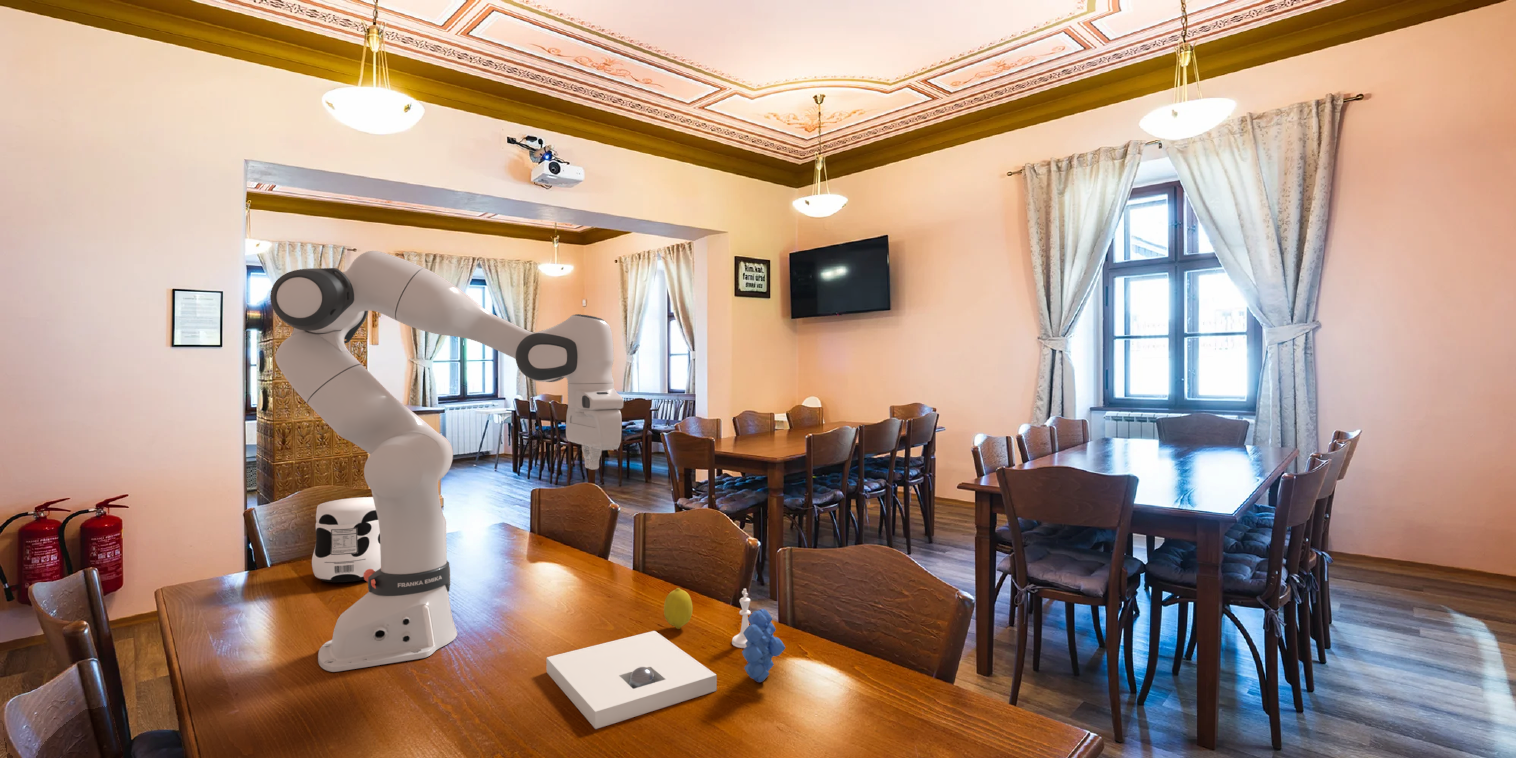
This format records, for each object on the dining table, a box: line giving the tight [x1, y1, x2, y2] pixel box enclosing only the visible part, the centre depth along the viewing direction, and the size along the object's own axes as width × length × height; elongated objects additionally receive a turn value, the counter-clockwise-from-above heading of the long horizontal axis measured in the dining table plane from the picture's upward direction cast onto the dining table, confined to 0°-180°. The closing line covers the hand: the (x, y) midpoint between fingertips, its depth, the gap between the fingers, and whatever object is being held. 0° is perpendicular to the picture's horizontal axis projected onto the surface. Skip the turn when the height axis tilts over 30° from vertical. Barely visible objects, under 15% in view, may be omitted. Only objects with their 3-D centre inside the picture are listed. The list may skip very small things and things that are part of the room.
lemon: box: [663, 587, 693, 630], centre depth 135 cm, size 6×6×8 cm
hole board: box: [545, 630, 718, 730], centre depth 113 cm, size 20×22×2 cm
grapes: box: [741, 608, 786, 683], centre depth 112 cm, size 12×7×12 cm, turn 164°
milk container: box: [311, 496, 381, 583], centre depth 168 cm, size 17×17×18 cm
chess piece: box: [731, 588, 752, 649], centre depth 128 cm, size 5×5×10 cm
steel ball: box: [629, 667, 655, 689], centre depth 108 cm, size 4×4×4 cm
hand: (591, 468), depth 136 cm, fingers closed
